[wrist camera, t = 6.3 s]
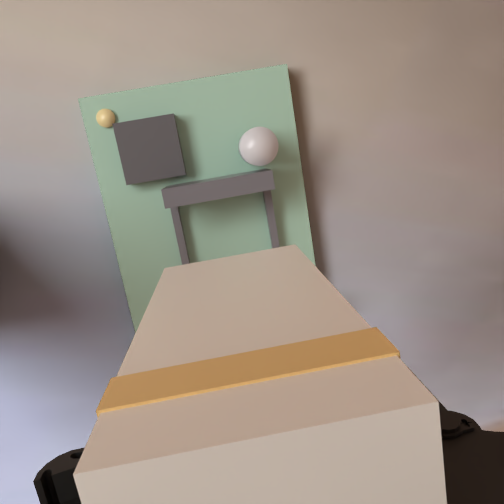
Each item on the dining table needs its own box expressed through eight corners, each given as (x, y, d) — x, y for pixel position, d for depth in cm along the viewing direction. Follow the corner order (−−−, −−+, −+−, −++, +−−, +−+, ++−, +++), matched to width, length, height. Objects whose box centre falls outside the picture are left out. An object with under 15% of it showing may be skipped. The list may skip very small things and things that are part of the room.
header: (166, 185, 31) (159, 191, 27) (266, 168, 31) (274, 170, 27) (197, 330, 33) (194, 357, 29) (289, 313, 34) (300, 336, 29)
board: (83, 100, 31) (62, 92, 26) (284, 67, 31) (294, 54, 27) (147, 365, 35) (138, 393, 31) (322, 331, 36) (336, 354, 32)
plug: (162, 266, 15) (67, 471, 5) (296, 242, 15) (442, 396, 6) (202, 449, 17) (186, 865, 7) (323, 425, 17) (473, 796, 7)
